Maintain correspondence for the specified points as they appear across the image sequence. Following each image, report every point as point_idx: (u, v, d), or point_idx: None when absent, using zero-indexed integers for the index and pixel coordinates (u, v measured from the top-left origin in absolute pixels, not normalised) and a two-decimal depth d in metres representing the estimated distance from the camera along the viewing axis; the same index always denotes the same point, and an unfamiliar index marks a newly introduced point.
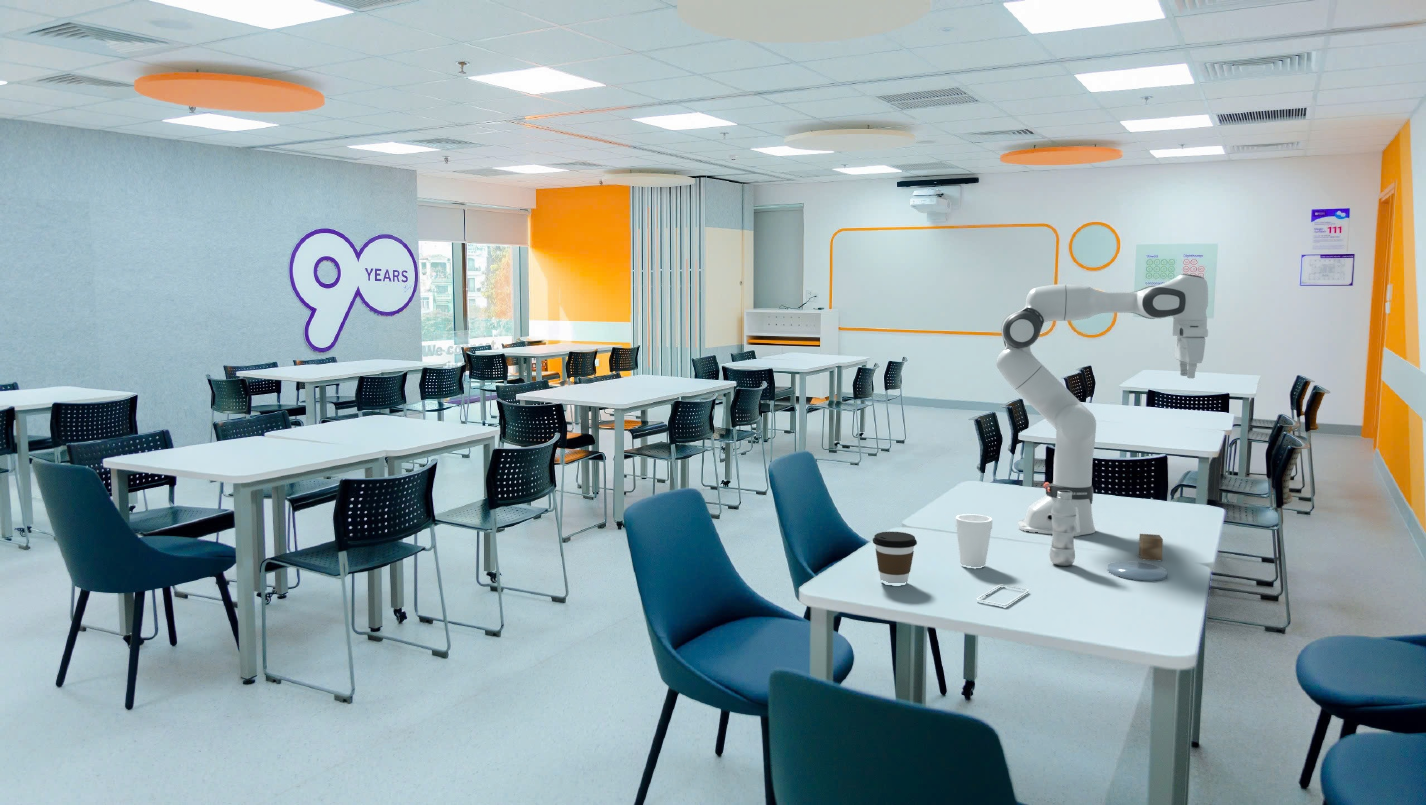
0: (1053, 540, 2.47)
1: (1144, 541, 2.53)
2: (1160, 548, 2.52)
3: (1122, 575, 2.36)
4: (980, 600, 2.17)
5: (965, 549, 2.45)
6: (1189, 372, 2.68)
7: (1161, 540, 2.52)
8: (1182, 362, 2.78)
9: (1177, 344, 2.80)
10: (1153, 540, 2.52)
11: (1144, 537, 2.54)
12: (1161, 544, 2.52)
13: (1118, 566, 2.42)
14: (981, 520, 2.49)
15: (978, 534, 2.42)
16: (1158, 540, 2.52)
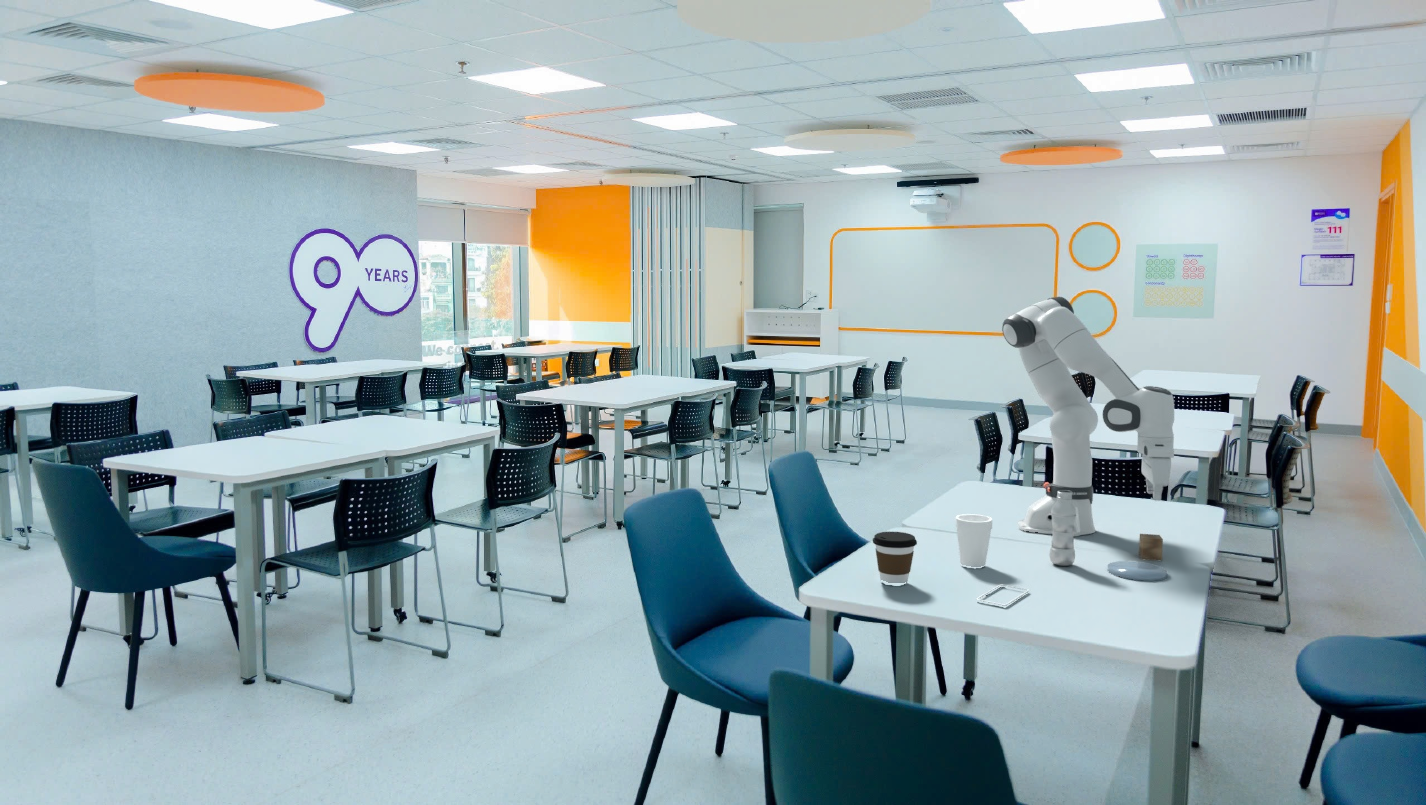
0: (1053, 540, 2.47)
1: (1144, 541, 2.53)
2: (1160, 548, 2.52)
3: (1122, 575, 2.36)
4: (980, 600, 2.17)
5: (965, 549, 2.45)
6: (1155, 494, 2.48)
7: (1161, 540, 2.52)
8: None
9: (1143, 458, 2.60)
10: (1153, 540, 2.52)
11: (1144, 537, 2.54)
12: (1161, 544, 2.52)
13: (1118, 566, 2.42)
14: (981, 520, 2.49)
15: (978, 534, 2.42)
16: (1158, 540, 2.52)
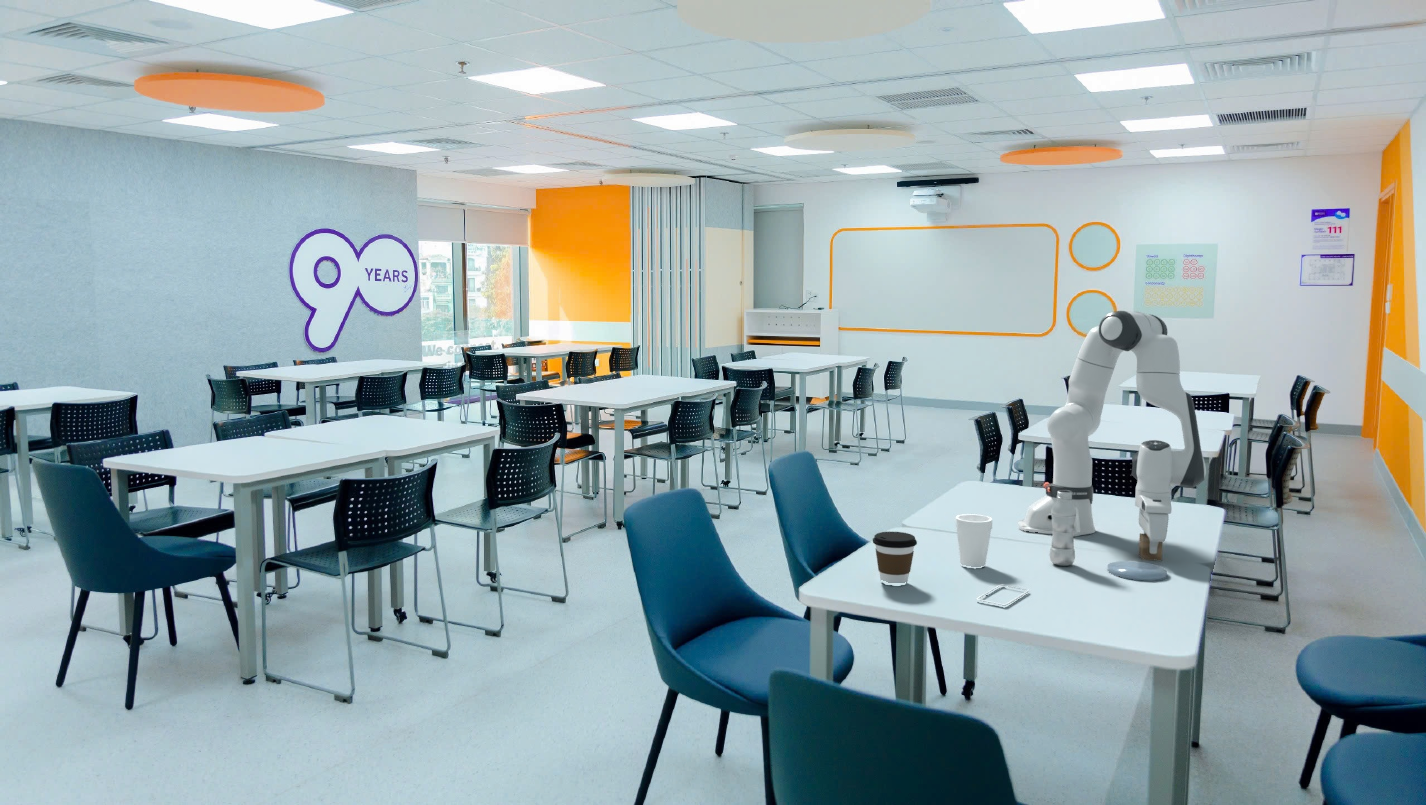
0: (1053, 540, 2.47)
1: (1144, 541, 2.53)
2: (1160, 548, 2.52)
3: (1122, 575, 2.36)
4: (980, 600, 2.17)
5: (965, 549, 2.45)
6: (1151, 547, 2.51)
7: None
8: None
9: None
10: None
11: (1144, 537, 2.54)
12: (1161, 544, 2.52)
13: (1118, 566, 2.42)
14: (981, 520, 2.49)
15: (978, 534, 2.42)
16: None
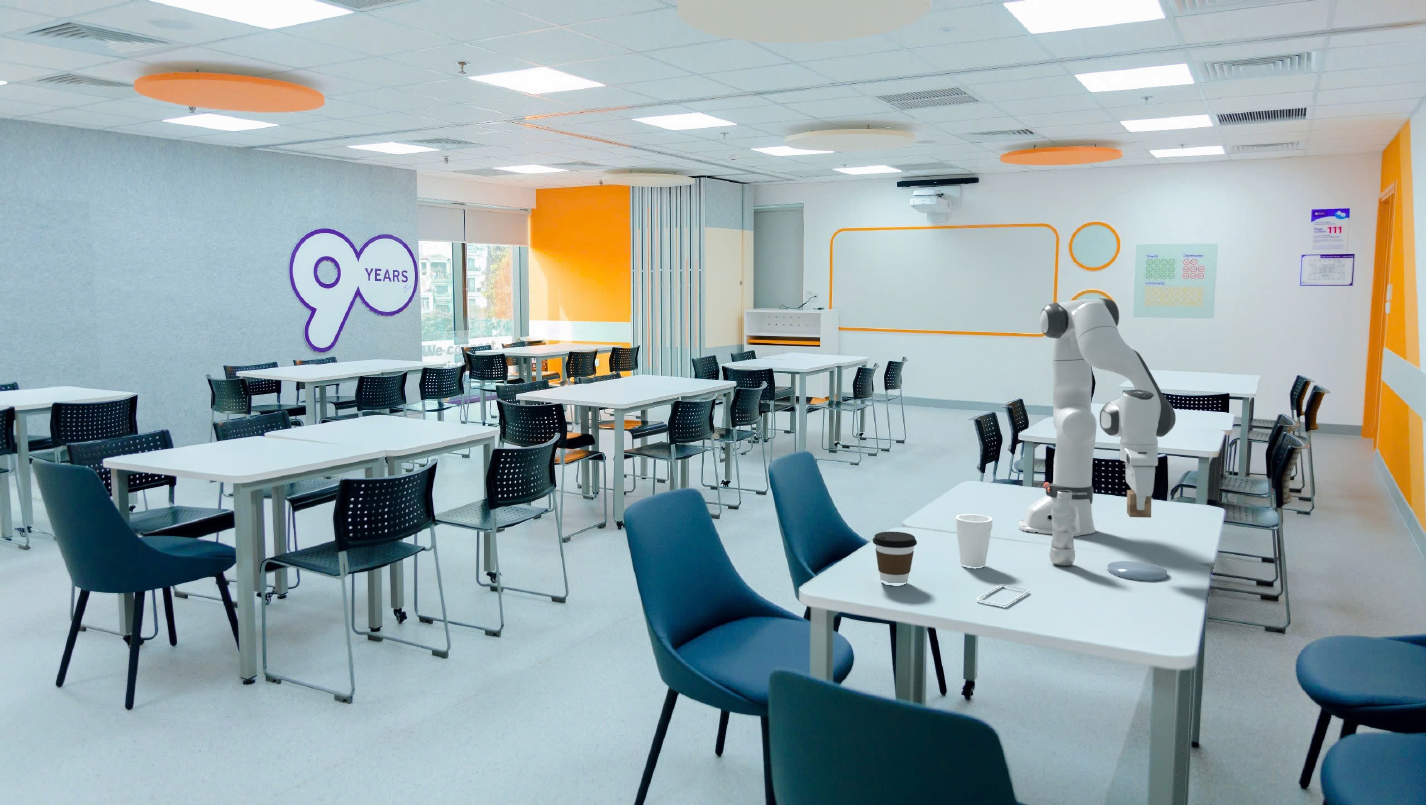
0: (1053, 540, 2.47)
1: (1131, 497, 2.37)
2: (1149, 504, 2.36)
3: (1122, 575, 2.36)
4: (980, 600, 2.17)
5: (965, 549, 2.45)
6: (1138, 503, 2.35)
7: None
8: None
9: None
10: None
11: (1131, 493, 2.38)
12: (1150, 500, 2.36)
13: (1118, 566, 2.42)
14: (981, 520, 2.49)
15: (978, 534, 2.42)
16: (1146, 496, 2.36)
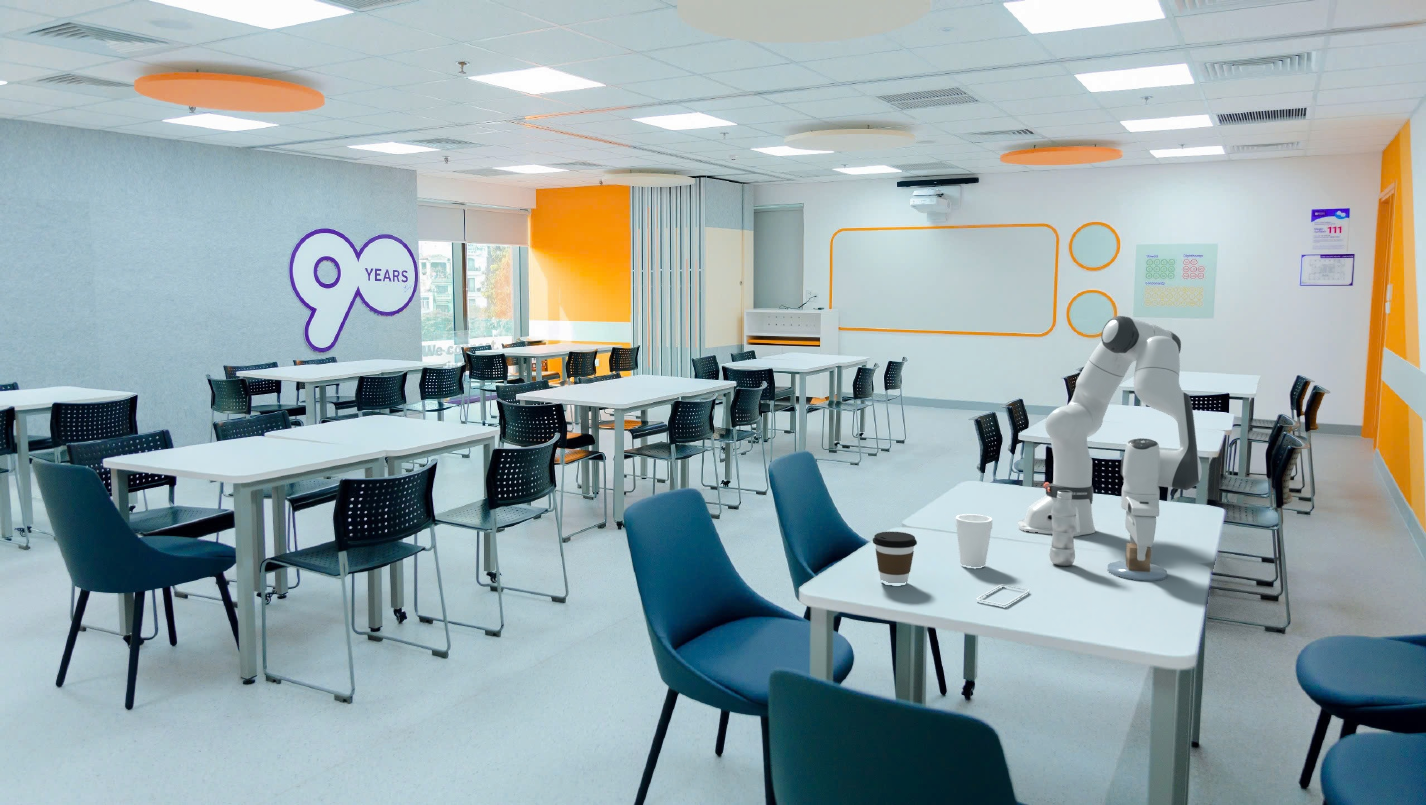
0: (1053, 540, 2.47)
1: (1131, 551, 2.38)
2: (1148, 558, 2.37)
3: (1122, 575, 2.36)
4: (981, 600, 2.17)
5: (965, 549, 2.45)
6: (1139, 553, 2.35)
7: (1149, 550, 2.37)
8: None
9: None
10: None
11: (1131, 547, 2.39)
12: (1149, 554, 2.37)
13: (1118, 566, 2.42)
14: (981, 520, 2.49)
15: (978, 534, 2.42)
16: (1146, 550, 2.37)
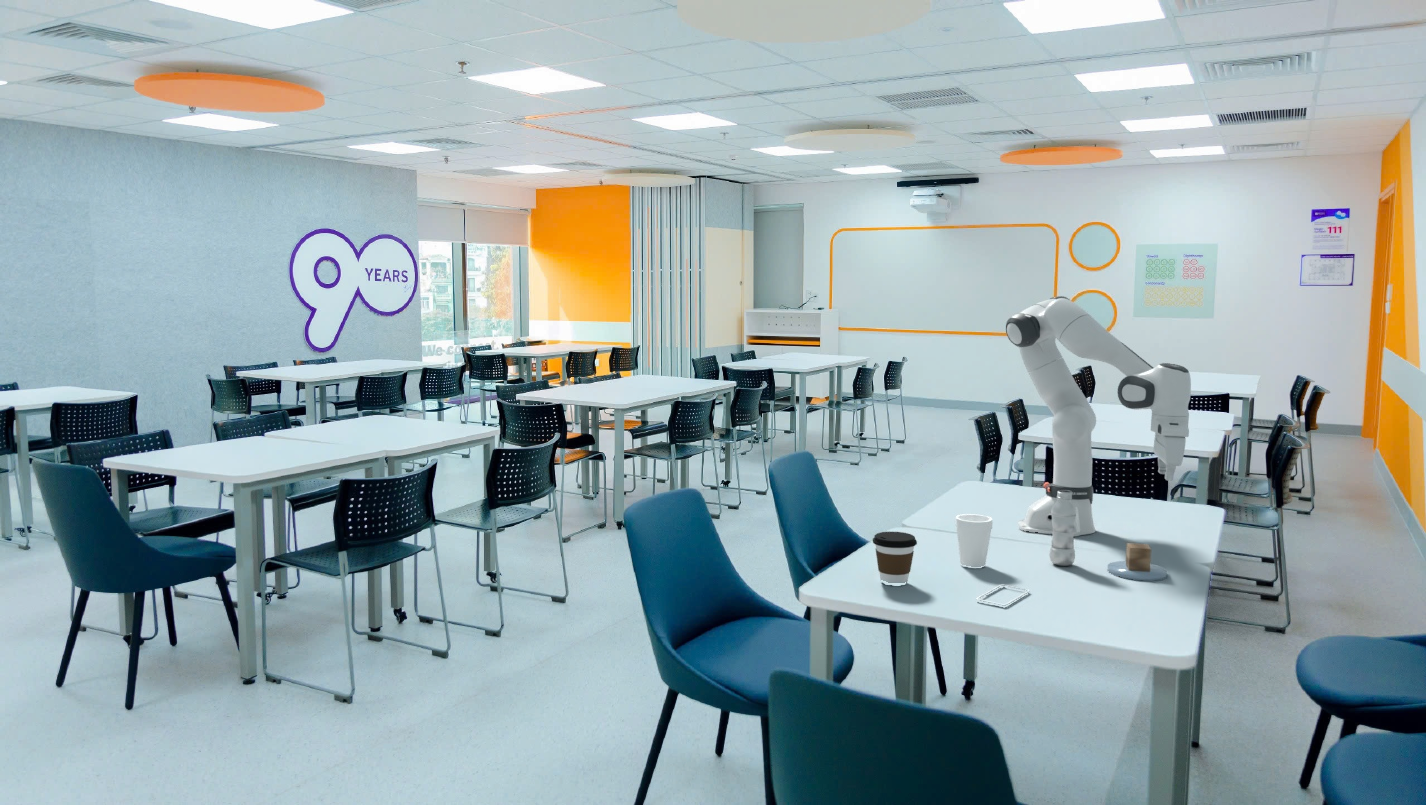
0: (1053, 540, 2.47)
1: (1131, 551, 2.38)
2: (1148, 558, 2.37)
3: (1122, 575, 2.36)
4: (981, 600, 2.17)
5: (965, 549, 2.45)
6: (1167, 474, 2.41)
7: (1149, 550, 2.37)
8: (1161, 458, 2.51)
9: (1156, 437, 2.53)
10: (1141, 550, 2.37)
11: (1131, 547, 2.39)
12: (1149, 554, 2.37)
13: (1118, 566, 2.42)
14: (981, 520, 2.49)
15: (978, 534, 2.42)
16: (1146, 550, 2.37)
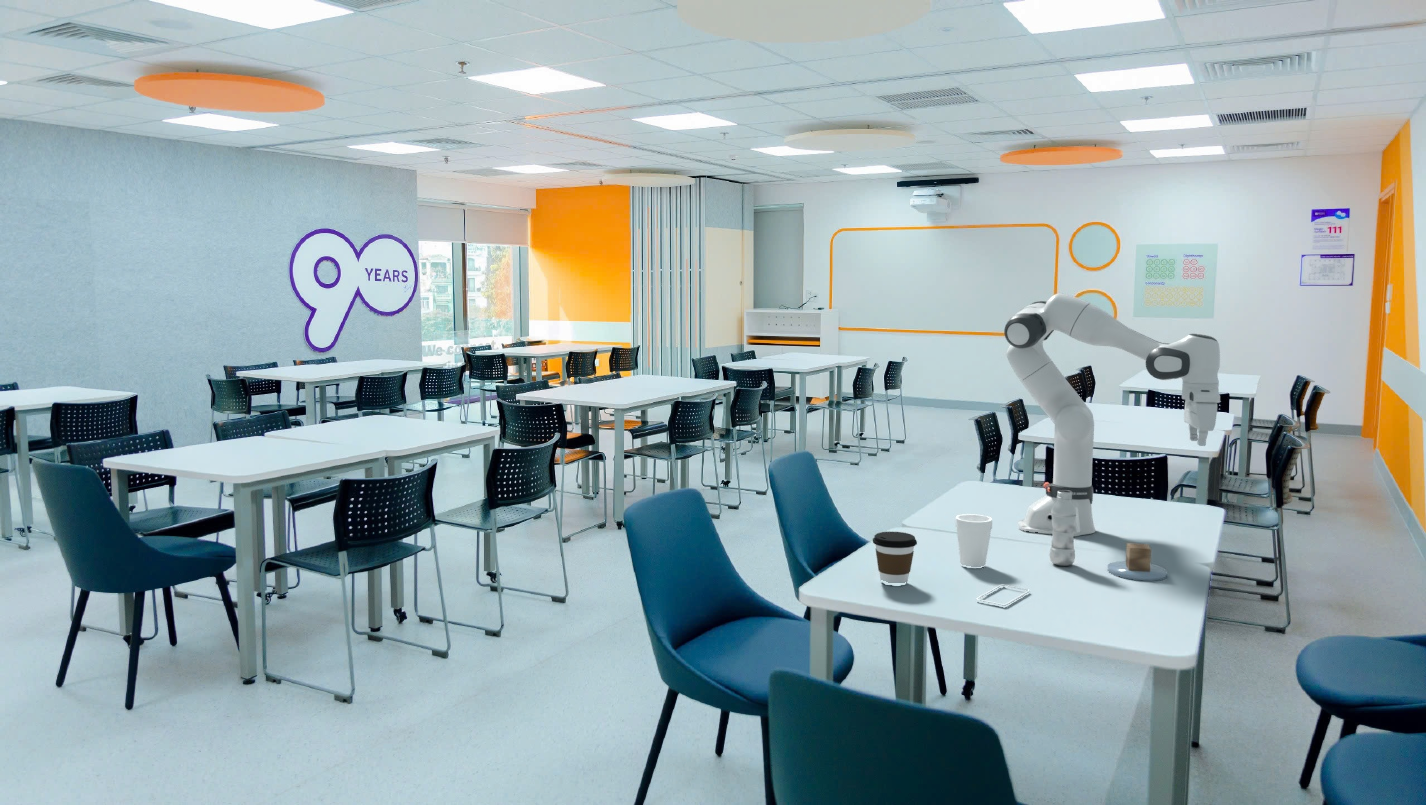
0: (1053, 540, 2.47)
1: (1131, 551, 2.38)
2: (1148, 558, 2.37)
3: (1122, 575, 2.36)
4: (981, 600, 2.17)
5: (965, 549, 2.45)
6: (1200, 439, 2.51)
7: (1149, 550, 2.37)
8: (1192, 426, 2.61)
9: (1186, 406, 2.63)
10: (1141, 550, 2.37)
11: (1131, 547, 2.39)
12: (1149, 554, 2.37)
13: (1118, 566, 2.42)
14: (981, 520, 2.49)
15: (978, 534, 2.42)
16: (1146, 550, 2.37)
